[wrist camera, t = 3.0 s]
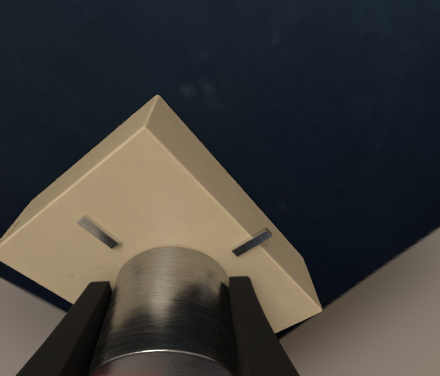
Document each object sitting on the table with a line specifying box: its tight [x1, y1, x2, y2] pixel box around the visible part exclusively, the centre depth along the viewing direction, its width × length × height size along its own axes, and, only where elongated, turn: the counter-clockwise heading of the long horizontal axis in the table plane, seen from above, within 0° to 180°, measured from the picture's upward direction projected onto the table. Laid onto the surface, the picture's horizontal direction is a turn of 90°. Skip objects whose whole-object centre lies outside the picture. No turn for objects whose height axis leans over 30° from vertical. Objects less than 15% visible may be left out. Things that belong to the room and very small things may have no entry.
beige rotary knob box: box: [0, 95, 322, 333], centre depth 12 cm, size 10×8×3 cm
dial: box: [88, 247, 237, 376], centre depth 10 cm, size 4×4×4 cm
